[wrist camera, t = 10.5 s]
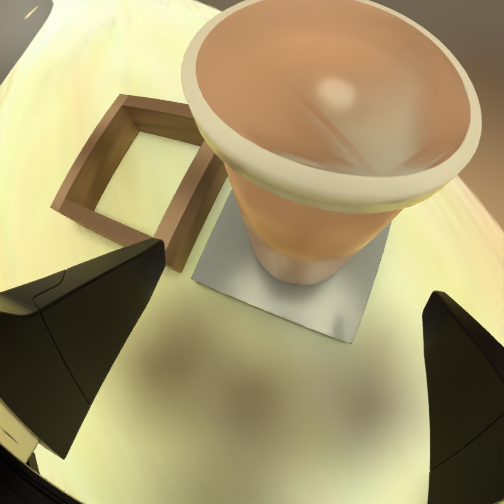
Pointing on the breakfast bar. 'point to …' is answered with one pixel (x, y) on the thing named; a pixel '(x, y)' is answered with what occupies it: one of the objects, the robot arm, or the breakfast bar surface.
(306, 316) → the tile
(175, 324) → the breakfast bar surface
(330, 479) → the breakfast bar surface
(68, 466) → the breakfast bar surface
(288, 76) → the peach plastic cup
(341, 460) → the breakfast bar surface
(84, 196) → the frame
